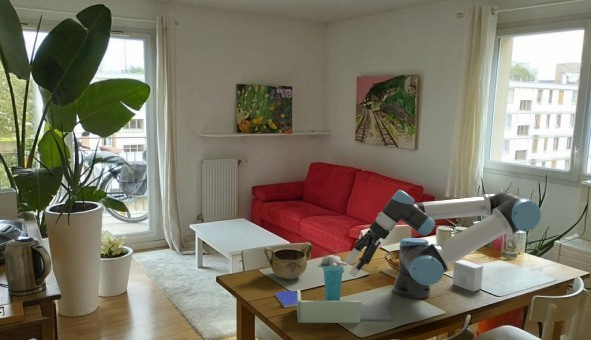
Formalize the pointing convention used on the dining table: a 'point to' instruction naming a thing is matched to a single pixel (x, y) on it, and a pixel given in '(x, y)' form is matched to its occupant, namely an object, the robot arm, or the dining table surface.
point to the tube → (332, 282)
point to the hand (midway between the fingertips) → (349, 268)
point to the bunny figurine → (333, 261)
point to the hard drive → (287, 298)
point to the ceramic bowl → (289, 261)
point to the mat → (375, 313)
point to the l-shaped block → (327, 311)
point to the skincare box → (467, 275)
